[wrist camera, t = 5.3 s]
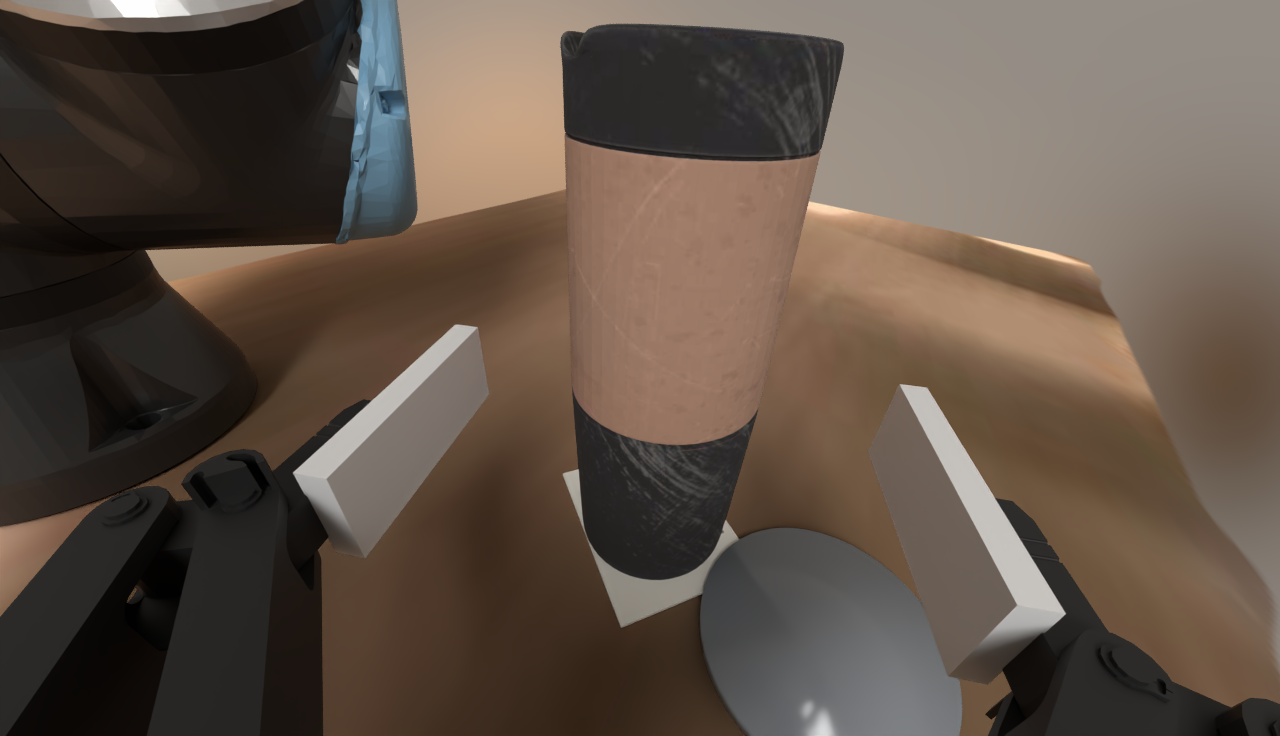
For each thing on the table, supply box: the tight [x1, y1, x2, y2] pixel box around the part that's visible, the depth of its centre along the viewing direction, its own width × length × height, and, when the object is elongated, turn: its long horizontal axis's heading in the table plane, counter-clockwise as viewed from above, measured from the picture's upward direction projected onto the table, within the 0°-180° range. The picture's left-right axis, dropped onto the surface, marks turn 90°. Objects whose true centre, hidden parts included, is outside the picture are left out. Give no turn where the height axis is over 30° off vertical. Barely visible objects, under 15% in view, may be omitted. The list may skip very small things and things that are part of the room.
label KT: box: [563, 469, 739, 628], centre depth 23 cm, size 9×7×1 cm
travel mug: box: [561, 24, 844, 580], centre depth 18 cm, size 8×8×20 cm
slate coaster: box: [699, 528, 962, 736], centre depth 19 cm, size 10×10×1 cm
